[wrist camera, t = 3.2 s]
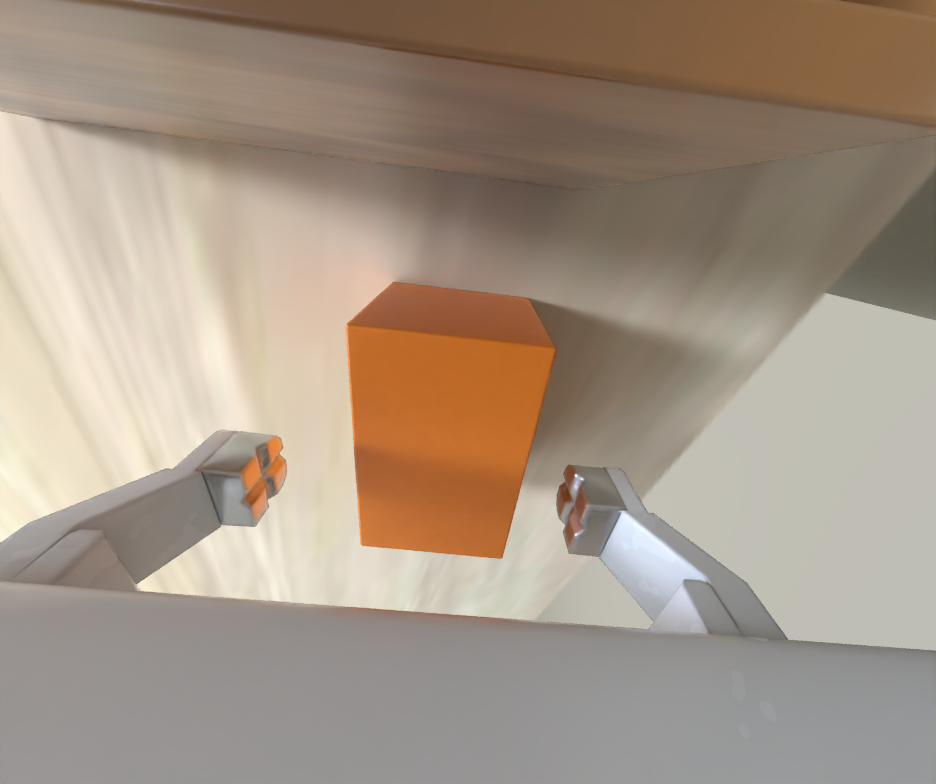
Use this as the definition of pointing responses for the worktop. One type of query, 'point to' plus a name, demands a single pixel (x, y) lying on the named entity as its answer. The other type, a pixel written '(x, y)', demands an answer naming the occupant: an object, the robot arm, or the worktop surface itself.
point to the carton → (486, 79)
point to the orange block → (444, 415)
